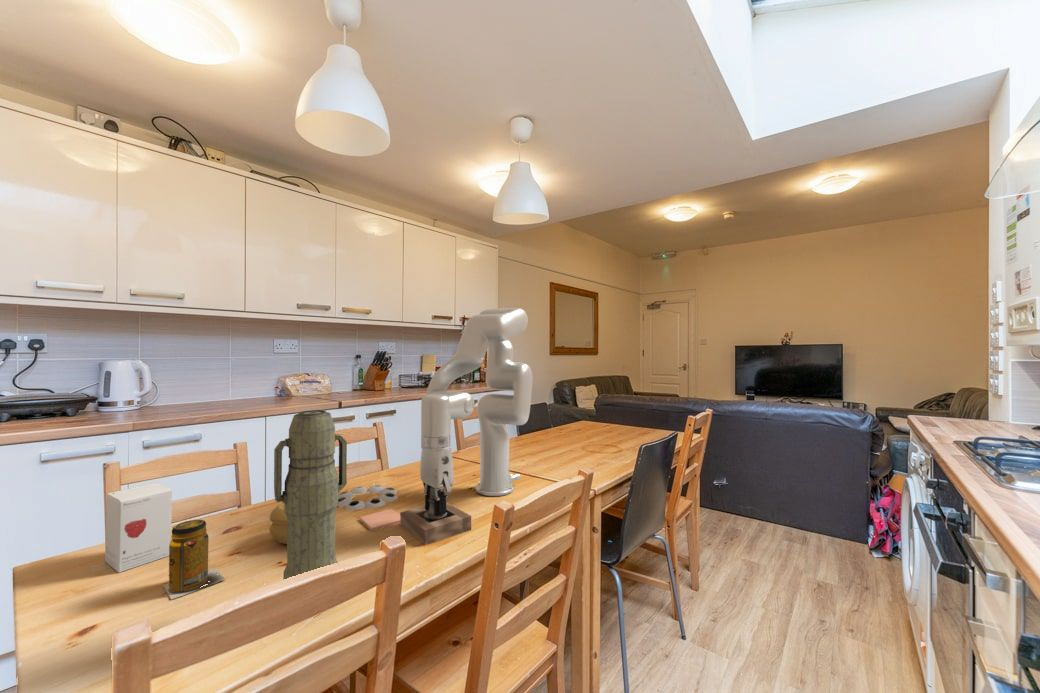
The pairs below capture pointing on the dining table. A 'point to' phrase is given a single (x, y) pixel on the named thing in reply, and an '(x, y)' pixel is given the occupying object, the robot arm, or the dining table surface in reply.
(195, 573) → the condiment
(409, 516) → the brown square wooden frame
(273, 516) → the pot
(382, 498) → the paint palette
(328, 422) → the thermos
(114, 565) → the supplement box
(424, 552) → the dining table surface
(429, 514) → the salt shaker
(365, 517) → the terracotta tile
